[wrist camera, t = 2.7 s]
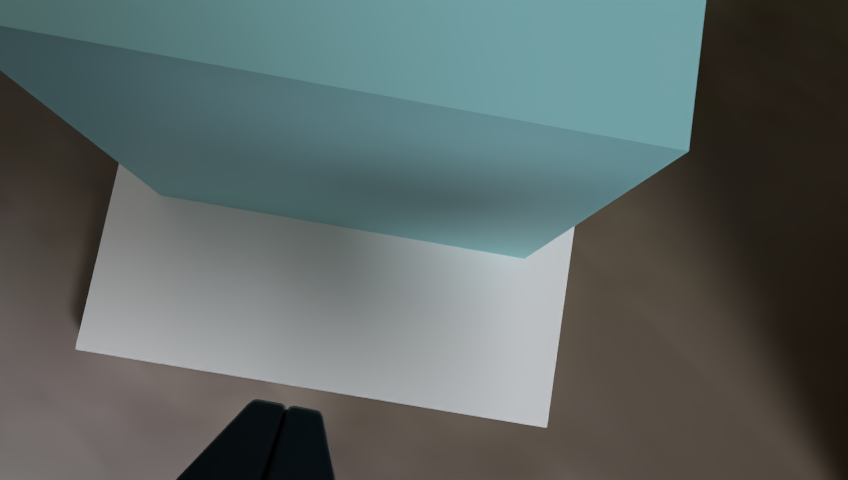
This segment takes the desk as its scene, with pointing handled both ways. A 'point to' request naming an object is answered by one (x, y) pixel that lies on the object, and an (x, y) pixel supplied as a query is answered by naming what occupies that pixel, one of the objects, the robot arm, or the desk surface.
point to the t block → (374, 104)
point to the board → (326, 306)
